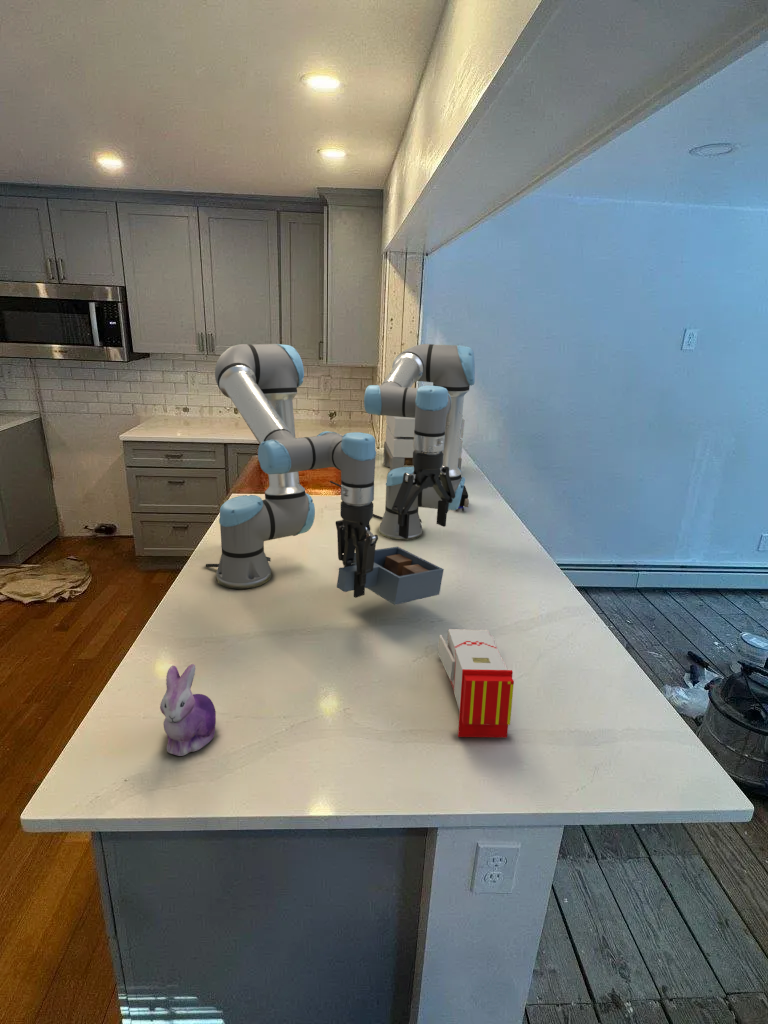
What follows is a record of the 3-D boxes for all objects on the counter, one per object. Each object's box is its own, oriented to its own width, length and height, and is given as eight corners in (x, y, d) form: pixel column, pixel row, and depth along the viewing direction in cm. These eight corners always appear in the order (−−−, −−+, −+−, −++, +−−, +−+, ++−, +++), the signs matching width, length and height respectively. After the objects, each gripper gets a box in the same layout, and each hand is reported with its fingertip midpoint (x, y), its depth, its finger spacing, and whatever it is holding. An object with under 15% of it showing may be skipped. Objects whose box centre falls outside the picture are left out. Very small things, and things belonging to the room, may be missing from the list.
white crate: (382, 463, 289) (386, 382, 275) (445, 464, 293) (451, 384, 279) (390, 482, 257) (394, 392, 243) (460, 483, 261) (468, 394, 247)
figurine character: (468, 516, 224) (463, 500, 237) (471, 498, 221) (465, 483, 234) (452, 515, 224) (447, 499, 237) (453, 498, 220) (449, 482, 234)
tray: (318, 583, 141) (321, 557, 139) (393, 570, 158) (397, 546, 156) (362, 612, 128) (366, 584, 127) (439, 594, 145) (443, 569, 144)
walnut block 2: (400, 583, 146) (403, 565, 145) (415, 581, 149) (418, 564, 148) (412, 591, 143) (415, 573, 141) (427, 589, 146) (430, 571, 144)
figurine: (168, 766, 96) (159, 693, 91) (160, 728, 104) (152, 659, 99) (224, 749, 100) (219, 678, 95) (212, 714, 109) (207, 646, 103)
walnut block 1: (383, 573, 152) (385, 556, 151) (396, 570, 155) (399, 553, 154) (395, 580, 148) (398, 562, 147) (409, 577, 152) (412, 560, 151)
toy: (488, 613, 130) (523, 677, 101) (484, 667, 133) (517, 744, 104) (435, 612, 130) (455, 676, 101) (432, 666, 133) (451, 743, 103)
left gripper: (323, 494, 133) (322, 584, 141) (366, 514, 122) (362, 610, 130) (348, 489, 138) (346, 576, 146) (392, 508, 126) (387, 601, 134)
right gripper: (401, 461, 129) (396, 547, 136) (473, 447, 144) (465, 524, 152) (379, 454, 134) (376, 537, 141) (451, 441, 149) (445, 516, 157)
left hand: (354, 592), depth 138 cm, fingers closed on tray, 3 cm apart
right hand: (422, 530), depth 146 cm, fingers open, 13 cm apart
